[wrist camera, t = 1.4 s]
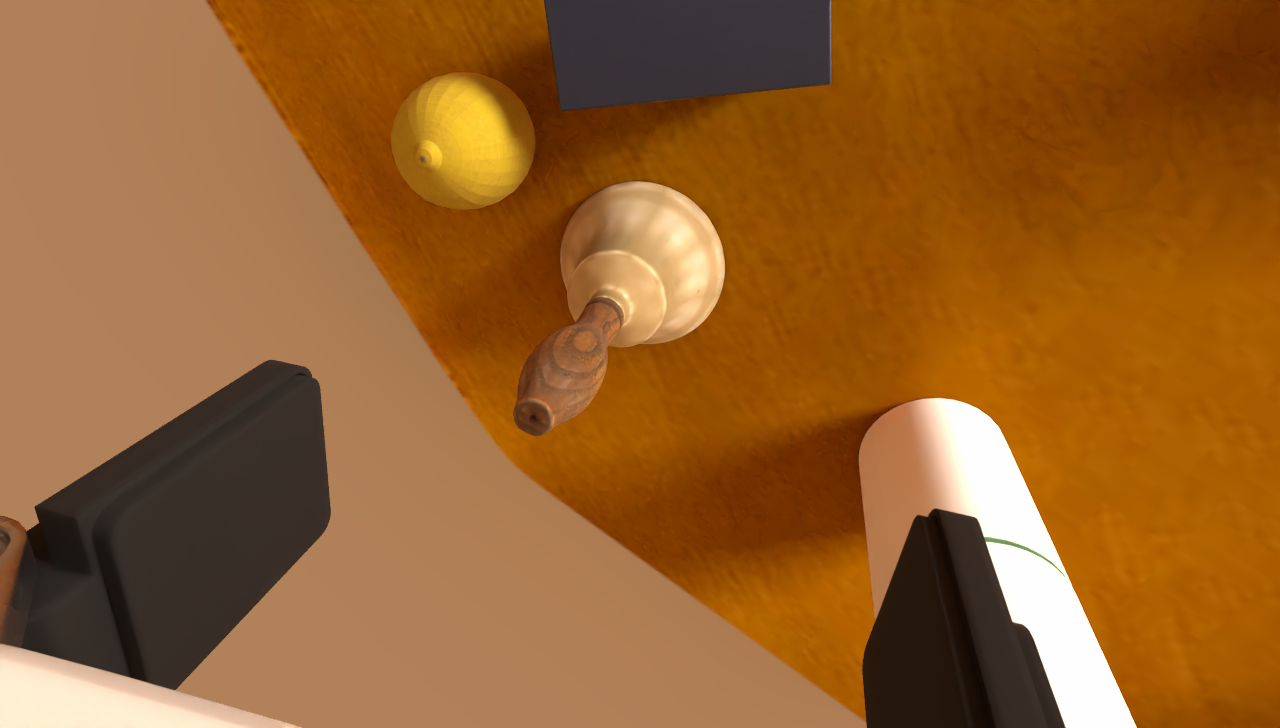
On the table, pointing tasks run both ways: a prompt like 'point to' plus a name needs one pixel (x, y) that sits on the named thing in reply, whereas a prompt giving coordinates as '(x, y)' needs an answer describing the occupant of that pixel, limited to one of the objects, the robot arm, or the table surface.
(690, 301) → the hand bell
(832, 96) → the table surface
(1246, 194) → the table surface
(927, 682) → the robot arm
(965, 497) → the cylindrical container
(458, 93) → the lemon
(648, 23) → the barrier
